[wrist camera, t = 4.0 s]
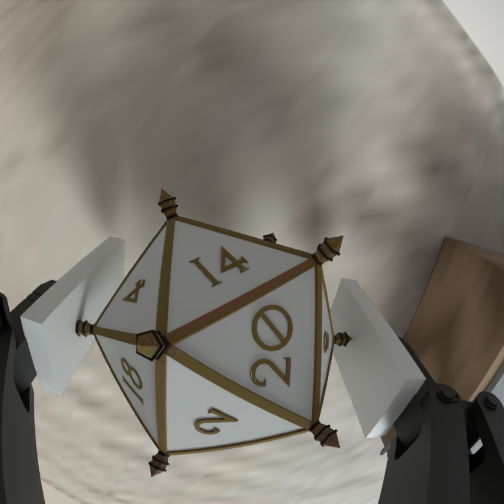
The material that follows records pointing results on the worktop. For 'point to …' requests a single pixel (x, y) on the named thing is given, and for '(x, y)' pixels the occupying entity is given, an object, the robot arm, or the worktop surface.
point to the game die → (220, 338)
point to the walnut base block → (462, 323)
